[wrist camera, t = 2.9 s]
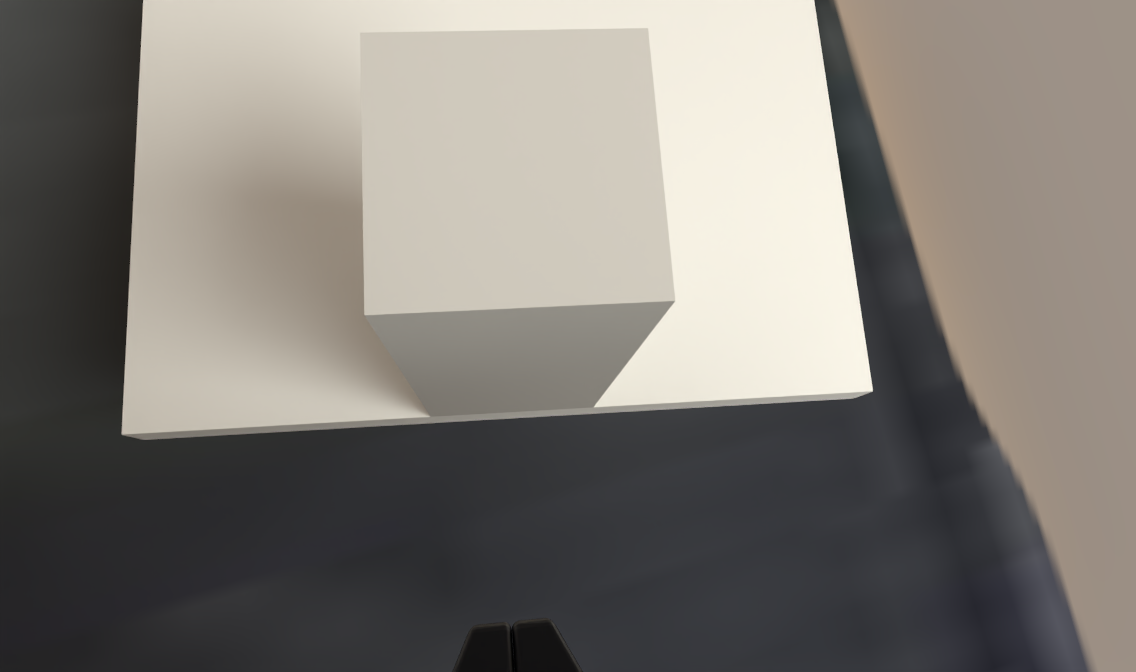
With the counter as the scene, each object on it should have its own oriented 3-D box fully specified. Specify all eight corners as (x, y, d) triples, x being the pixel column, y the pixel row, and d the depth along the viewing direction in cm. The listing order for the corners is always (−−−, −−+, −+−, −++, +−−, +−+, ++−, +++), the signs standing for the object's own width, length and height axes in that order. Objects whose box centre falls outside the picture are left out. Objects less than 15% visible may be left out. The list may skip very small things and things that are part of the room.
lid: (853, 398, 15) (1186, 277, 7) (143, 439, 13) (-258, 345, 6) (782, -91, 17) (987, -545, 10) (166, -89, 16) (-112, -599, 9)
